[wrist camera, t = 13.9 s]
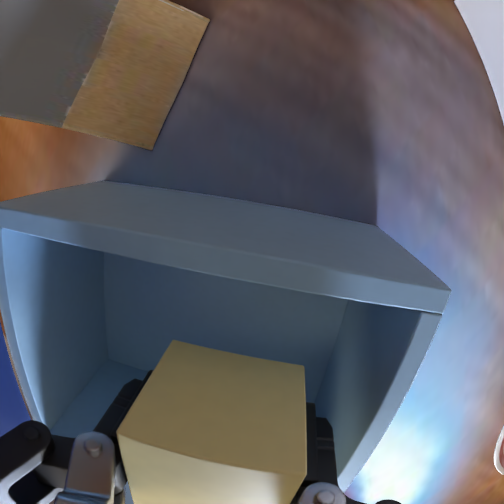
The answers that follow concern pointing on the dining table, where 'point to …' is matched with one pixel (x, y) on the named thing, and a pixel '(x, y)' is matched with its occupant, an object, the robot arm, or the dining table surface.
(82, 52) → the sandwich container
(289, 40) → the dining table surface
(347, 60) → the dining table surface
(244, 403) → the block
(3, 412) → the lid
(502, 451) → the dinner plate
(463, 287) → the dining table surface
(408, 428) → the dining table surface
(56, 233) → the chest
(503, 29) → the milk
